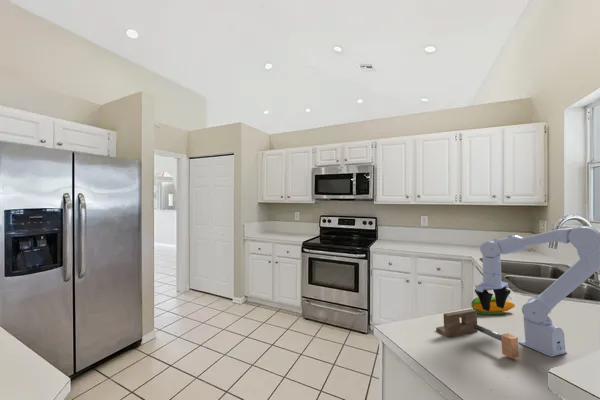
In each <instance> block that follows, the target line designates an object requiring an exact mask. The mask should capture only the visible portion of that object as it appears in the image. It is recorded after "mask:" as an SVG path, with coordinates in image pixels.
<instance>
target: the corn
mask: <svg viewBox="0 0 600 400" xmlns="http://www.w3.org/2000/svg"><path fill="white" fill-rule="evenodd" d="M470 305H471V306H470V307H471V309H473V310H476V313H478V314H481V315H500V314H501V315H503V314H506V312H507V311H509V310H512V309H513V308H515V307H516V305H515V303H514V302H512V301H510V300H506V302H505V305H504V308H500V307H497V305H496V298H495V296H492V298H491V301H490V310H489V311H486V310H484V309H483V308H482V305H481V302H480V299H479V297H475V298H474V299H473V300H472V301H471V304H470Z"/></svg>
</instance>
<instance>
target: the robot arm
mask: <svg viewBox="0 0 600 400" xmlns="http://www.w3.org/2000/svg"><path fill="white" fill-rule="evenodd" d="M551 242H552V243H553V242H559V243H563V244H569V243H571V245H573V247H574V248H575V249H576V251H577V254H578V256H579V259H578V260H577V261H576V262H575V263H574V264H573V265H572V266H570V267H569V268H568V269H567V270H566V271H565V272H564V273H563V274H562V275H560V276H559V277H558V278H557V279H556V280H555V281H554V282H553V283H552V284H550V285H549V286H548V287H547V288H546V289H544V291H542V292H541V293H540V294H539V295H537V296H534V297H531V298H529V299H528V300H527V302H526V303H525V304H523V305H522V307H521V312H522V315H523V317H522V318H523V326H524V327H523V329H524V331H523V332H524V339H523V340H520V341H519V340H518V344H520V345H523V346H525V347H527V348H530V349H532V350H535V351H537V352H538V353H541V354H544V355H547V357H556V356H560V355H564V354H567V353H568V351H567V350H566V343H565V342H566V341H565V332H564V330H563V328H561V327H559V326H557V325H555V324H554V323H553V321H552V319H551V317H550V316H549V315H550V314H551V312H552V310H553V309H554V308H555V307H556V306H557V305H558V304H559V303H560V302H562V301H563V300H564V299H565V298H566V297H567V296H568V295H570V294H571V293H572V292H574V291H575V290H576V289H577V288H578V287H580V285H582V284H583V283H584V282H585V281H587V280H588V279H589V278H590V277H591V276H593V275H594V274H595V273H596V272H597V271H598V270H600V231H599V230H598V229H596V227H595V228H594V227H592V226H588V225H582V226H581V225H580V226H577V227H575V228H574V227H566V228H558V229H553V230H550V231H546V232H542V233H537V234H533V235H529V236H525V237H524V236H520V235H517V234H515V235H513V234H509V235H508V234H507V237H503V238H493V239H492V240H489V241H485V242H483V243H482V244H481V245H480V247H479V251H480V253H481V254H482V260H481V262H482V281H480V284H477V285H475V289H474V292H475V294H476V295H477V298H479V299H480V302H481V305H482V308H483V309H484V310H486V311H489V310H490V301H491V298H492V297H493V295H494V297H495V298H496V305H497V307H500V308H504V305H505V302H506V301H507V298H508V297H509V295H510V294H511V289H509V282H505V281H502V280H503V279H502V261H501V255H508V254H513V253H514V254H515V253H518V252H524V251H525V250H526V248H527V247H529V246H534V245H541V244H546V243H551ZM489 291H493V293H494V294H493V293H492V292H489Z"/></svg>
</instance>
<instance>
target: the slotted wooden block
mask: <svg viewBox="0 0 600 400" xmlns="http://www.w3.org/2000/svg"><path fill="white" fill-rule="evenodd" d="M477 313H478V312H476V310H473V308H471V309H465V310H464V309H463V310H457V311H452V312H446V313H443V326H438V327H437V326H436V329H435V330H436V331H437V332H438V333H440V334H442V335H444V336H446V337H447V338H449V339H450V338H454V337H459V336H464V334H465V335H469V333H470V334H473V333H478V332H479V331H478V330H475V329H474V325H475V324H477V325H478V315H477ZM460 319H461V320H460Z"/></svg>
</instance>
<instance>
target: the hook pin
mask: <svg viewBox="0 0 600 400" xmlns="http://www.w3.org/2000/svg"><path fill="white" fill-rule="evenodd" d="M474 329H475V330H478V332H480V333H483V334H484V335H487V336H488V337H491V338H494V339H495V340H498V341H499V342H500V343H501V352H502V353H501V354H502V355H503V356H506V357H507V358H510V359H512V360H513V359H517V358H520V350H519V348H520V347H519V337H518V336H515V335H513V334H511V333H508V332H507V333H503V334H499V333H497V332H495V331H492V330H490V329H488V328H486V327H483V326H481V325H478V323H477V324H475V325H474Z"/></svg>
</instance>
